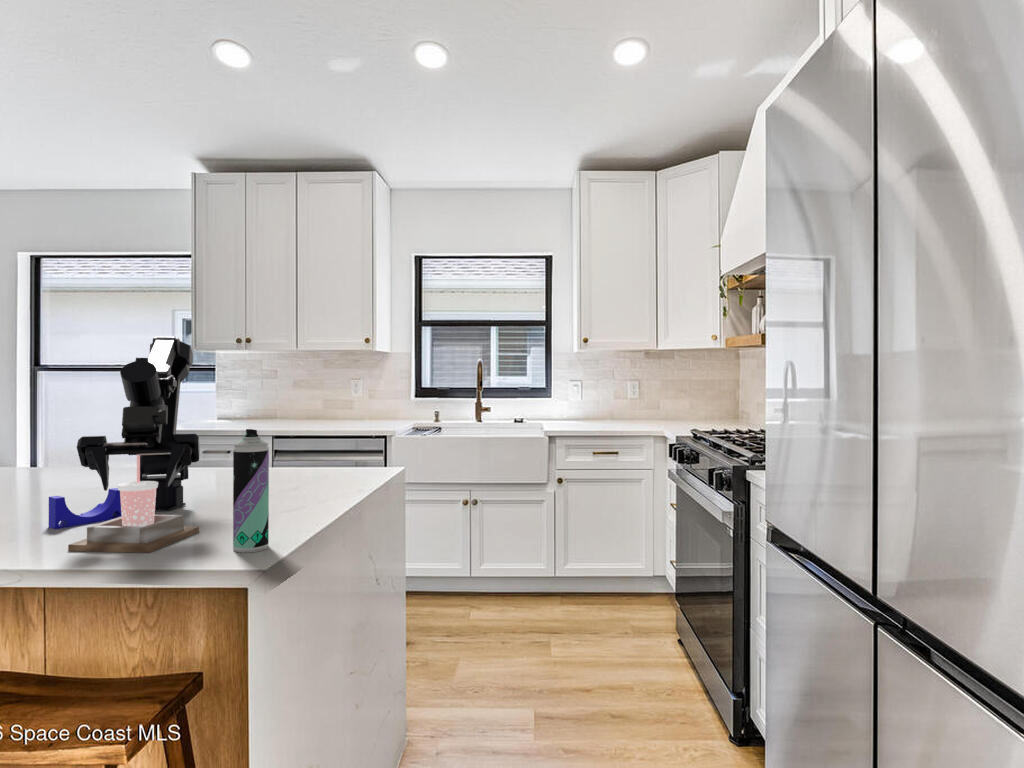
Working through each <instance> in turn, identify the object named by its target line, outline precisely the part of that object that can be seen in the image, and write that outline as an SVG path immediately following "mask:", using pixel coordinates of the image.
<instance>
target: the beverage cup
mask: <svg viewBox="0 0 1024 768" xmlns="http://www.w3.org/2000/svg"><path fill="white" fill-rule="evenodd" d="M157 487H158V482H156V481H140V455H136V480H135V481H127V482H124V483H123V482H122V483H118V484H117V488H118V490H119V491H120V500H121V514H122V526H138V527H145V526H148V525H150V524H153V523H154V516H155V513H156V512H155V511H156V510H155V501H156V488H157Z"/></svg>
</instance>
